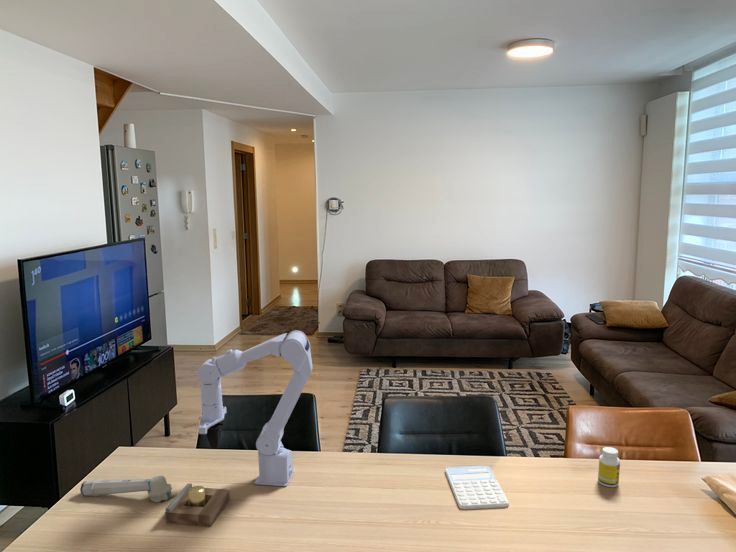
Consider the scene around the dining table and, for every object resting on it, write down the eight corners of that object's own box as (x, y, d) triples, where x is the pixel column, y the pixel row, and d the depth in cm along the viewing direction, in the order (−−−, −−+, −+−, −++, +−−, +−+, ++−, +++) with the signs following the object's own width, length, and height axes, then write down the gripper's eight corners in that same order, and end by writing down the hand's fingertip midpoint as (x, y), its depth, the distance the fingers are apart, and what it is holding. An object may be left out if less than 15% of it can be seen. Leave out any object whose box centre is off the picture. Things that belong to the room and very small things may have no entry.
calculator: (459, 511, 143) (459, 504, 143) (444, 472, 163) (444, 466, 162) (510, 508, 144) (510, 502, 143) (488, 470, 163) (489, 464, 163)
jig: (229, 499, 149) (228, 486, 148) (211, 526, 137) (209, 511, 137) (188, 496, 151) (187, 483, 150) (165, 523, 139) (164, 508, 138)
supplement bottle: (619, 489, 151) (621, 455, 150) (598, 486, 153) (600, 453, 151) (617, 479, 156) (619, 447, 155) (597, 476, 158) (598, 444, 156)
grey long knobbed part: (88, 476, 155) (171, 469, 152) (94, 498, 156) (176, 491, 152) (77, 486, 150) (162, 479, 146) (82, 509, 151) (167, 502, 147)
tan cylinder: (208, 507, 146) (207, 486, 145) (201, 516, 142) (199, 494, 141) (194, 505, 146) (193, 485, 145) (187, 514, 143) (185, 493, 142)
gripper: (209, 391, 164) (212, 434, 166) (186, 411, 150) (190, 458, 152) (232, 392, 163) (234, 435, 165) (211, 412, 149) (214, 459, 151)
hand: (214, 446), depth 158 cm, fingers closed
